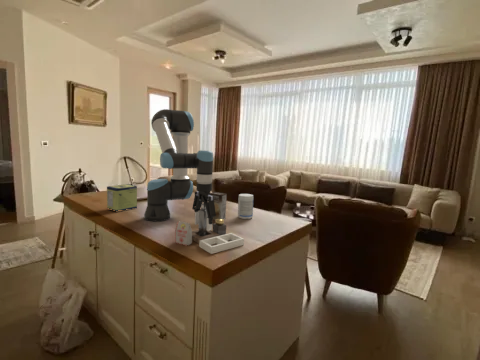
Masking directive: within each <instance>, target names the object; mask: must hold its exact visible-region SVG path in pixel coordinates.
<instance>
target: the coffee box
mask: <svg viewBox="0 0 480 360" xmlns="http://www.w3.org/2000/svg"><path fill="white" fill-rule="evenodd" d="M210 195H211V196H214V205H215V212H216V216H215V217H213V220H214V221H215V219H218V218H221V219H224V220H226V214H227V213H226V212H227V197H228V196H227V193H224V192H218V191H213V192H210Z"/></svg>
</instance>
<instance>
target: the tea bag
mask: <svg viewBox="0 0 480 360" xmlns="http://www.w3.org/2000/svg"><path fill="white" fill-rule="evenodd" d="M192 231H193V230H192V227H191V223H190V222H185V221H180V220H178V221H177V223H176V227H175V231H174V243H175V242H176V243H175V244H178V243H179V245H182V244H183V246H186V247H187V245H188V246H190V245H191V244H192V243H193V240H192Z"/></svg>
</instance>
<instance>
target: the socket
mask: <svg viewBox="0 0 480 360" xmlns="http://www.w3.org/2000/svg"><path fill="white" fill-rule="evenodd" d="M198 230H199V229H197V230H196V229H195V230H192V242H193V241H194V242H195V243H196V244H199V240H203V239H208V238H212V237H216V236H221V235H225V234H227V224H226V223H224V224H222V225H217V224H215V223H212V230H209V231H208V235H206V236H202V237H201V236H199V235H198Z"/></svg>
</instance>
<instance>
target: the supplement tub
mask: <svg viewBox="0 0 480 360" xmlns="http://www.w3.org/2000/svg"><path fill="white" fill-rule="evenodd" d="M237 201H238V202H237V204H238V205H237V206H238V207H237V218H239V219H241V220H250V219H252V218H253V215H254V214H253V213H254V194H252V193H251V194H250V193H240V194H238V200H237Z"/></svg>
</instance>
